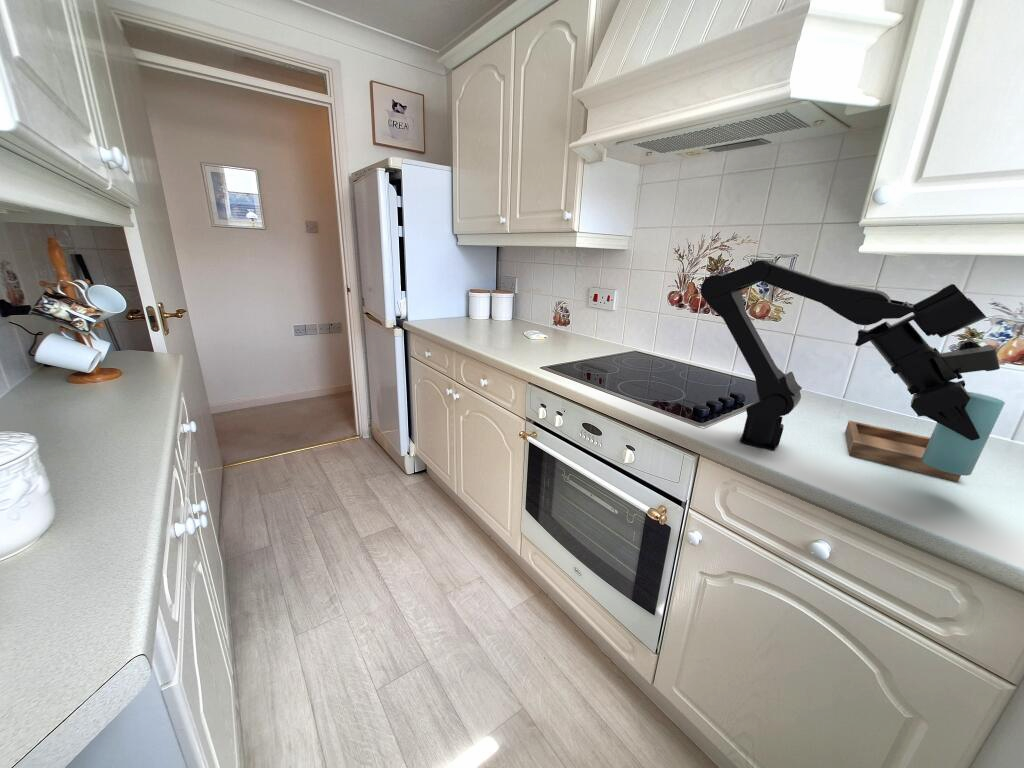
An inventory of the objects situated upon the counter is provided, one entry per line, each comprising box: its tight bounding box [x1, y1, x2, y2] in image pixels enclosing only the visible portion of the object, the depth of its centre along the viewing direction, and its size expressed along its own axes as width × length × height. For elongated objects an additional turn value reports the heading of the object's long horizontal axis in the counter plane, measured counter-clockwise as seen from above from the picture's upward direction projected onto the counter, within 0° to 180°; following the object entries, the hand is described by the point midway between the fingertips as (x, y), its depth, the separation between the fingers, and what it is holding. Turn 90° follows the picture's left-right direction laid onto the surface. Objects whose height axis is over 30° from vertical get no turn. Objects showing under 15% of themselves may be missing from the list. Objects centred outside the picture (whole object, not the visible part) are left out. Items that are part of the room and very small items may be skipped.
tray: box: [844, 420, 962, 483], centre depth 85 cm, size 16×14×3 cm
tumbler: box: [921, 391, 1006, 477], centre depth 67 cm, size 6×6×12 cm
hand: (974, 433), depth 66 cm, fingers closed on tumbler, 6 cm apart
